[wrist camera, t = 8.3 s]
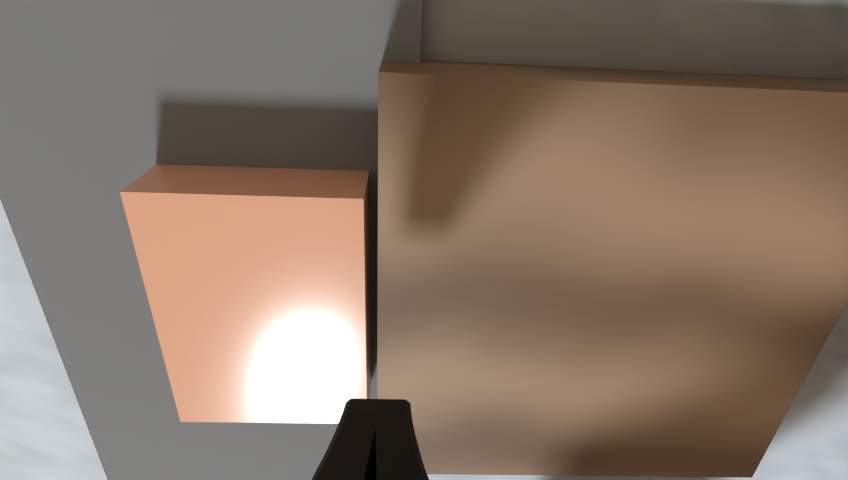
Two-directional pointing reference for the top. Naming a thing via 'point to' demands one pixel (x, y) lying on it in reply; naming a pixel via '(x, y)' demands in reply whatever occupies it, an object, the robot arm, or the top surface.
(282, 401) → the tile
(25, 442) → the top surface
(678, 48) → the top surface
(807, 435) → the top surface
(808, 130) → the brown flat square slab
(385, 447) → the robot arm
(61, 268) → the mat
